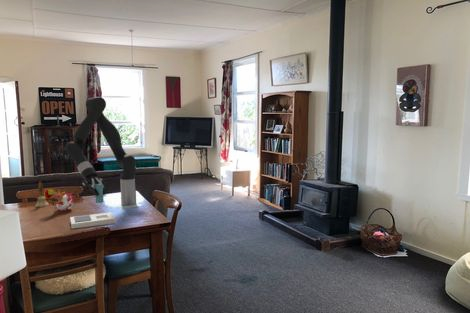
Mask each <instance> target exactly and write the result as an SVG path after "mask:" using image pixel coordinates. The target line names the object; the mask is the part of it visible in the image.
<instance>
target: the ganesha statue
mask: <svg viewBox="0 0 470 313" xmlns="http://www.w3.org/2000/svg"><path fill="white" fill-rule="evenodd" d="M43 197H45V199H47V200H50V202H51V205H52V206H53V207H54V206H55V207H54V209H57V210H56V212H59V211H60V212H64V211H67V210H69V209H71V207H72V206H73V204H74V202H75V200H74V199H75V195H73V193H72V192H71V193H69V192H66V191H63V192H60V189H58V188H53V187H52V189H49V188H47V189H45V191H43Z"/></svg>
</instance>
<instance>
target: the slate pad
mask: <svg viewBox="0 0 470 313" xmlns="http://www.w3.org/2000/svg"><path fill="white" fill-rule="evenodd" d="M86 215H87V214H86ZM90 215H91V214H88V215H87V216H85V215H77V216H78V217H76V216H73V217H74V219H75V222H83V221H91V217H90Z"/></svg>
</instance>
